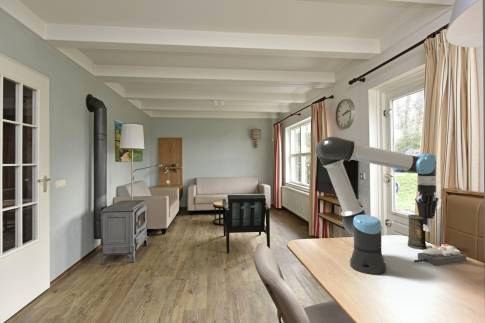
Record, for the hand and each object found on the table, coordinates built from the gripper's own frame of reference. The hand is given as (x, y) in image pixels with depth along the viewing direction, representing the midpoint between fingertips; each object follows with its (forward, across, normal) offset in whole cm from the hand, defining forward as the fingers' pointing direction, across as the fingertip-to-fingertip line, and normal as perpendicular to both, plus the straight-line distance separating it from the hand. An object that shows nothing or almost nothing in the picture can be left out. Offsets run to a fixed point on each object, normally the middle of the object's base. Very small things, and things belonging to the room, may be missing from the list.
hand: (427, 230), depth 126 cm
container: (+15, +13, +16) cm, 25 cm away
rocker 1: (+11, 0, -3) cm, 12 cm away
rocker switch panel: (+14, +2, -3) cm, 15 cm away
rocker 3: (+11, +12, -2) cm, 16 cm away
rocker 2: (+11, +6, -2) cm, 13 cm away
